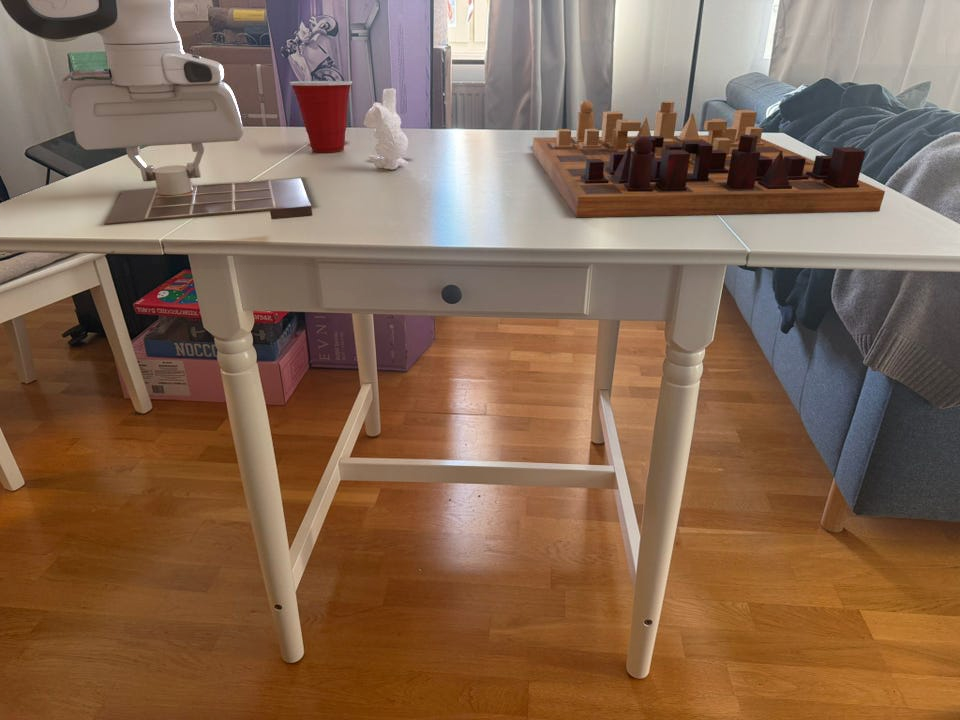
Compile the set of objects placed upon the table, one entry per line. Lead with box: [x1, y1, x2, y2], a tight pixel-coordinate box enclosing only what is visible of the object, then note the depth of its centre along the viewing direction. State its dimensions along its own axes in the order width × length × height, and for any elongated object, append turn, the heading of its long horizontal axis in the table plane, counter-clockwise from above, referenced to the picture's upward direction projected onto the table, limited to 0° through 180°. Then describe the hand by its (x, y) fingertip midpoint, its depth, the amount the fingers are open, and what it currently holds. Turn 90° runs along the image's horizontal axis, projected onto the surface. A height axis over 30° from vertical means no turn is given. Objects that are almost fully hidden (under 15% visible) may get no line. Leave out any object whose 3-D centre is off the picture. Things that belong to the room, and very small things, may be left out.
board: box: [103, 177, 313, 226], centre depth 89 cm, size 24×16×1 cm, turn 108°
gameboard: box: [532, 100, 886, 218], centre depth 102 cm, size 40×40×9 cm
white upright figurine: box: [362, 87, 409, 171], centre depth 108 cm, size 8×7×12 cm
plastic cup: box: [289, 80, 353, 154], centre depth 121 cm, size 11×11×12 cm
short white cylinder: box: [153, 164, 193, 195], centre depth 91 cm, size 4×4×3 cm
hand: (173, 178), depth 91 cm, fingers closed on short white cylinder, 4 cm apart
